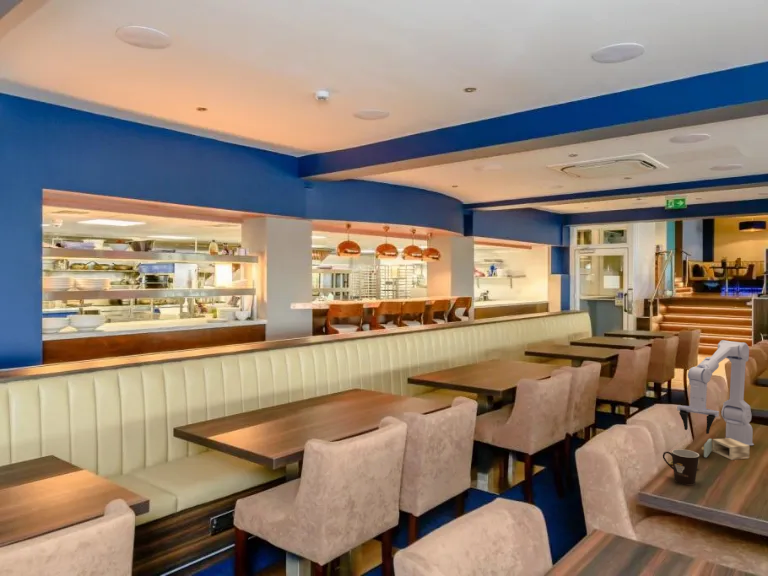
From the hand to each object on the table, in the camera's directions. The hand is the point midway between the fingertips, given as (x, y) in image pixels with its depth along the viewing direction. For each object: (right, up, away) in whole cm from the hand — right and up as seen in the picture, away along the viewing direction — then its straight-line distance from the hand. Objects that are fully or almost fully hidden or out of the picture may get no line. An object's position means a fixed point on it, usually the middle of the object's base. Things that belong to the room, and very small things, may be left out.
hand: (696, 431), depth 229 cm
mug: (-12, -11, -12) cm, 20 cm away
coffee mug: (-19, -11, -25) cm, 33 cm away
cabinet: (+14, -10, +1) cm, 17 cm away
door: (+5, -9, +1) cm, 10 cm away
